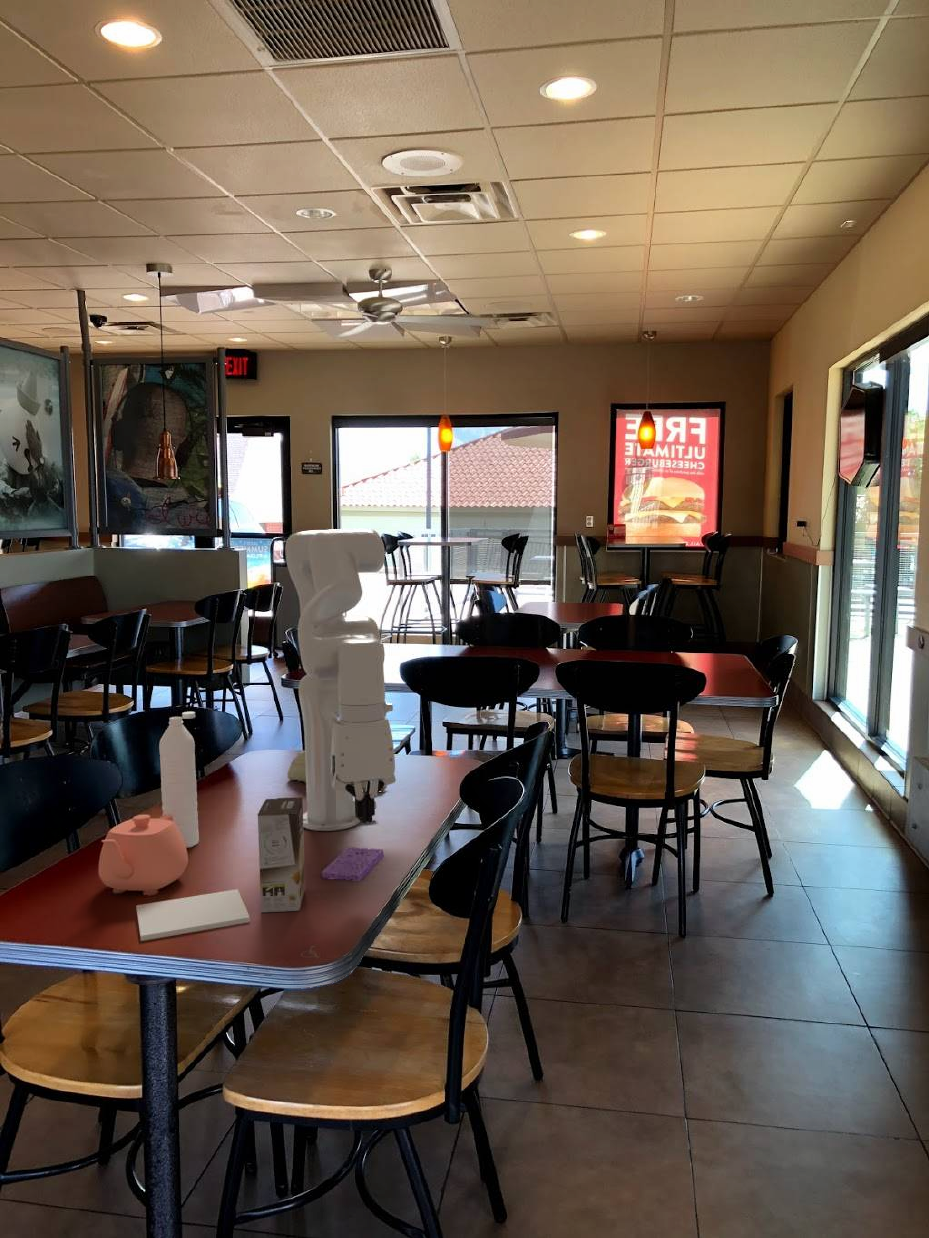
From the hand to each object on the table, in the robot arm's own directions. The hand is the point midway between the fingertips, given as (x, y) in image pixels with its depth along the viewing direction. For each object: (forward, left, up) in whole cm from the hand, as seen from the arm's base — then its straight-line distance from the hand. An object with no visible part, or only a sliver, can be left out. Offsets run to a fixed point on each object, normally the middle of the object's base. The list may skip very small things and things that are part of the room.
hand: (365, 820), depth 155 cm
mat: (+28, 0, -12) cm, 31 cm away
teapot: (+35, -16, -12) cm, 40 cm away
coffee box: (+14, 0, -12) cm, 18 cm away
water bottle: (+26, -37, -12) cm, 46 cm away
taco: (-11, -62, -12) cm, 64 cm away
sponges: (-1, -10, -12) cm, 16 cm away
